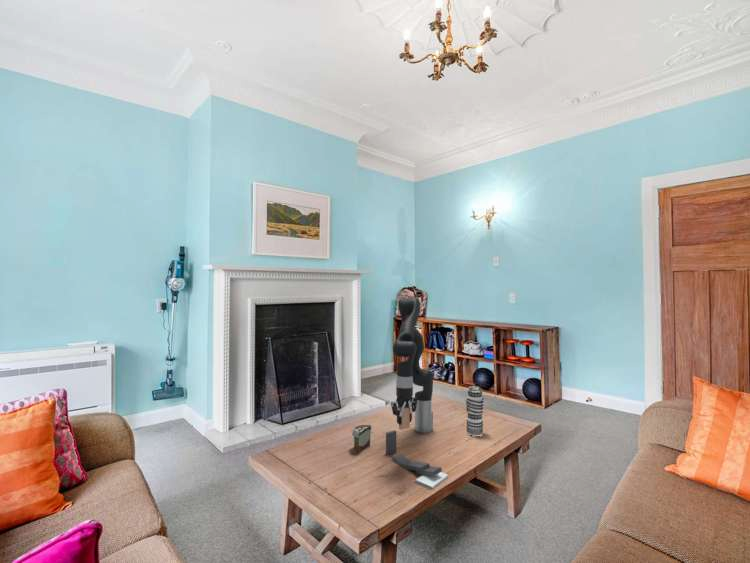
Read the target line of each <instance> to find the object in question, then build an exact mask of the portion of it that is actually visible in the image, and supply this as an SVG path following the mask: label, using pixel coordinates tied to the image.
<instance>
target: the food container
mask: <svg viewBox="0 0 750 563" xmlns="http://www.w3.org/2000/svg"><path fill="white" fill-rule="evenodd" d="M371 431H372V425H371V424H360V425H356V426H354V427H353V429H352V432H351V435H352V436H353V443H354V446H353V447H354V451H355V453H357V454H362V452H364V451H366V450H367V449H368V448H369V447H371V433H372V432H371Z"/></svg>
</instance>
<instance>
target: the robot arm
mask: <svg viewBox="0 0 750 563" xmlns="http://www.w3.org/2000/svg"><path fill="white" fill-rule="evenodd" d="M397 305H398V306H397V307H398V311H399V315H400V319H401V325H400V328H399V334H398V336H397V338H396V340H395V341H394V343H393V345H392V353H393V355H394V356H396V357H401V358H402V357H403V358H407V357H408V359H406V360H403V361H399V362H397V364H396V383H395V385H396V386H395V387H396V388H395V391H396V392H395V393H396V394H395V395H396V400H395V401H391V403H390V404H391V410H392V415H394V416H395V417H396V423H397V424H398V426H399V425H401V424H402V416H401V415H402V412H403V411H404V409H405V408H409V411H410V423H411V422H412V420H413V413H414V431H415V432H416V433H421V434H428V433H431V432H432V431H433V430H434V412H433V411H432V409H433V407H432V406H433V405H432V404H433V402H432V397H433V389H434V375H433V371H432V370H430V369H426V368H425V369H424V368H421V366H420V359H421V357H422V356H423V353H424V350H425V343H424V338H423V335H422V334H421V332H420V331H419V330H418V329H417V328H416V325H417V322H418V319H419V316H420V314H421V302H420V299H419V298H418V297H416V296H412V297H403V298H400V299H399V300H398V303H397ZM414 385H415V386H418V387H422V390H418V391H417V392H415V394H414ZM413 396H414V397H413ZM399 407H401V409H399ZM399 411H400V412H399Z"/></svg>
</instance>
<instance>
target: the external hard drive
mask: <svg viewBox="0 0 750 563" xmlns="http://www.w3.org/2000/svg"><path fill="white" fill-rule="evenodd" d="M448 478H449V475H448V474H447V473H445V472H440V473H438V474H437V475H435V476H430V475H422V474H421V475H420V476H419V477H417V478H416V479H414V483H416V484H418V485H420V486H423V487H425V488H427V489H429V490H434V489H435V488H437V486H439V485H440V484H441V483H443V482H444V481H446V479H448Z"/></svg>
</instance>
